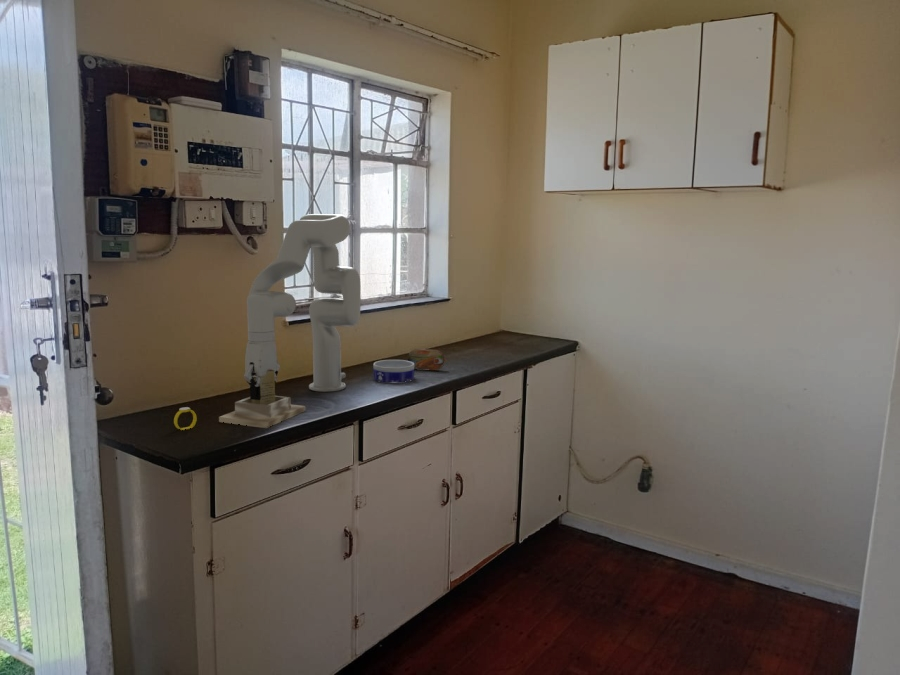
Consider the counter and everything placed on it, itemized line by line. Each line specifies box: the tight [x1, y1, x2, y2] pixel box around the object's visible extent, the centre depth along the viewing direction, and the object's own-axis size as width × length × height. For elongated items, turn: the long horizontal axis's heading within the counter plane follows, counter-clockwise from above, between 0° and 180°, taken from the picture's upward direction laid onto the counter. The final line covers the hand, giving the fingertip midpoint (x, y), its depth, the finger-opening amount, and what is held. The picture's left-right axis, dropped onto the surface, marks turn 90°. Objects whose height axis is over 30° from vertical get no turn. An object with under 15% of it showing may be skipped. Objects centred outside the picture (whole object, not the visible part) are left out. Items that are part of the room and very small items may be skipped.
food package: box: [406, 348, 446, 371], centre depth 271 cm, size 15×3×8 cm, turn 76°
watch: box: [173, 406, 198, 431], centre depth 187 cm, size 6×3×6 cm, turn 139°
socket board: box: [218, 395, 306, 429], centre depth 201 cm, size 20×16×5 cm
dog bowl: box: [372, 359, 415, 383], centre depth 254 cm, size 15×15×6 cm
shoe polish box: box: [252, 370, 276, 405], centre depth 201 cm, size 5×5×12 cm
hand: (263, 396), depth 201 cm, fingers open, 7 cm apart
